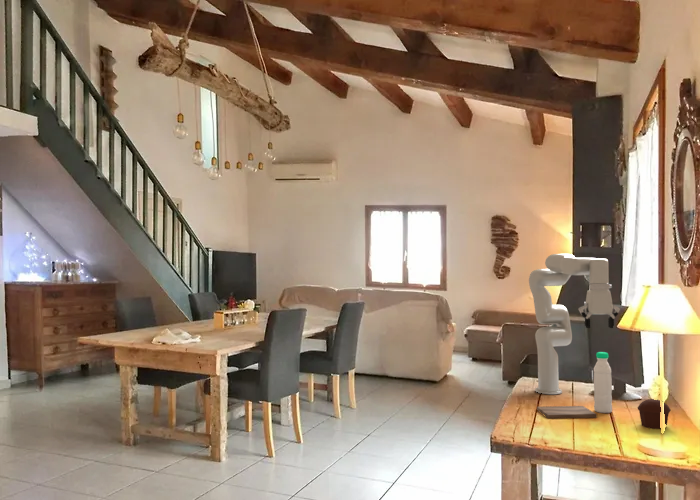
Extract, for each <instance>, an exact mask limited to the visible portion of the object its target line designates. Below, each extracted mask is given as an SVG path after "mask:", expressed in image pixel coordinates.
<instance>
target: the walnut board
mask: <svg viewBox="0 0 700 500" xmlns="http://www.w3.org/2000/svg"><path fill="white" fill-rule="evenodd" d="M537 410H538V411H537ZM536 411H537V412H539V411H540V412H541V413H542V414H541V413H540V412H539V413H540V414H541V415H543V414H544V415H545V416H546V417H545V416H544V415H543V416H544V417H545V418H547V419H596V418H597V417H598V416H597V412H594V411H592V410H590V409H589V408H587V407H585V406H584V405H569V406H568V405H564V406H563V405H561V406H560V405H559V406H557V405H556V406H555V405H553V406H549V405H548V406H547V405H546V406H536Z"/></svg>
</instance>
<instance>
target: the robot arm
mask: <svg viewBox="0 0 700 500" xmlns="http://www.w3.org/2000/svg"><path fill="white" fill-rule="evenodd" d="M544 264H545V267H546V268H537V269H535V270H533V271H531V272H530V274H529V276H528V277H529V278H528V286H529V289H530V291H531V294H532V299H533V306H534V313H535V318H536V321H537V322H538V324H541V325H556V326H543V327H539V328H538V329H537V330H536V331H535V335H534V337H535V338H534V339H535V343H536V348H537V377H538V378H537V381H538V382H537V383H538V384H537V385H538V386H537V387H535V389H534V391H536V392H535V393H537V392H538V393H537V394H541V393H542V395H560V394H562V393H563V389H561V388H559V386H560V385H559V384H560V383H559V380H560V379H559V355H558V352H557V351H556V349H555V348H554V347H566V346H569V345H570V344H571V343H572V340H573V332H572V326H571V318H570V314H569V311H568V309H567V307H566V306H564V305H563V304H553V302H552V295H551V293H550V292H549V290H548V289H547V288H546V287H559V286H560V287H561V286H564V285H565V284H566V283H567V282H568V281H569V280H570V278H571V276H589V290H587V292H586V298H585V304H584V305H581V306H579V307H578V309H577V310H578V311H579V313H580V315H581V316H582V317H583V318H584V326H585V328H586V329H590V328H591V319H590V317H592V315H607V316H608V317H609V318H608V324H607V325H608V328H609V329H614V325H615V318H616V317H617V316H618V315H619V313H620V311H621V308H620V307H618V306H616V305H614V304H613V299H612V294H611V290H610V289H612V288H613V286H612V284H610V282H609V281H610V278H609V274H610V273H609V271H610V270H609V260H608V259H607V258H596V257H575V255H573V254H572V253H571V254H570V253H552V254H550V255H548V256H547V257H546V259H545V261H544ZM584 310H585V312H584ZM613 310H615V311H613Z"/></svg>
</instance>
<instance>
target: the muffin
mask: <svg viewBox="0 0 700 500" xmlns="http://www.w3.org/2000/svg"><path fill="white" fill-rule="evenodd" d="M654 399H655V398H649V399H644V400H643V401H641V402H640V403H639V405H638V406H637V410H638V411H639V418H640V424H641V427H644V428H648V429H653V430H661V429H660V412H661V407H660V399H657V400H654ZM670 412H671V408H670V406H669V405H668V404H667V403H665V402H664V414H665V424H666V425H667V426H668V420H669V413H670Z"/></svg>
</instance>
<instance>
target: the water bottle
mask: <svg viewBox="0 0 700 500" xmlns="http://www.w3.org/2000/svg"><path fill="white" fill-rule="evenodd" d="M595 356H596V360H597V361H596V363H595V365H594V367H593V391H594V392H593V393H594V395H593V401H594V403H593V404H594V405H593V409H594V411H595V413H600V414H610V413H612V412H613V404H612V401H613V397H612V391H613V390H612V389H613V388H612V386H613V384H612V383H613V380H612V367H611V366H610V363H609V362H608V359H609V353H608V352H605V351H598V352H596V354H595Z"/></svg>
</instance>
